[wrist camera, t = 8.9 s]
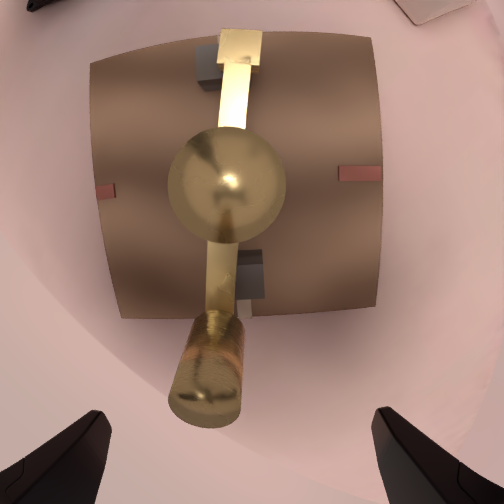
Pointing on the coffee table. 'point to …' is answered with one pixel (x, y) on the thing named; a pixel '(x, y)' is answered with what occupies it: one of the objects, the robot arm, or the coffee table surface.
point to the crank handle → (223, 233)
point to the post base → (286, 146)
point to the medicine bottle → (429, 8)
